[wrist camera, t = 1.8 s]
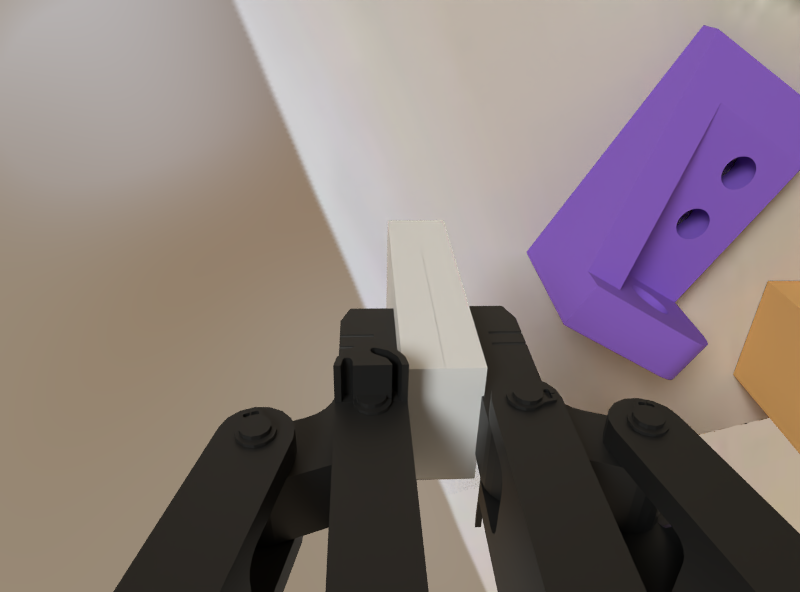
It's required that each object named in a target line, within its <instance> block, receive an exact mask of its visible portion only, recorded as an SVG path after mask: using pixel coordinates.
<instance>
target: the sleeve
mask: <svg viewBox="0 0 800 592" xmlns="http://www.w3.org/2000/svg"><path fill="white" fill-rule="evenodd" d="M733 375H734V376H735V377H736V378H737V379H738V381H739V382H740V383H741V384H742V385H743V387H744V388H745V389H746V390H747V391H748V393H749V394H750V395H751V396H752V397H753V399H754V400H755V401H756V402H757V403H758V405H759V406H760V407H761V408H762V409H763V411H764V412H765V413H766V414H767V415H768V416H769V418H770V419H771V420H772V421H773V422H774V424H775V425H776V426H777V427H778V428H779V430H780V431H781V432H782V433H783V434H784V436H785V437H786V438H787V439H788V440H789V442H790V443H791V444H792V445H793V446H794V448H795V449H796V450H797V451H798V452H799V454H800V281H768V283H767V285H766V288H765V291H764V293H763V296H762V299H761V301H760V304H759V307H758V310H757V312H756V315H755V318H754V320H753V323H752V326H751V328H750V331H749V334H748V336H747V339H746V342H745V344H744V347H743V350H742V353H741V355H740V358H739V361H738V363H737V366H736V369H735V371H734V374H733Z"/></svg>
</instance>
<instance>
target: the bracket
mask: <svg viewBox="0 0 800 592" xmlns="http://www.w3.org/2000/svg"><path fill="white" fill-rule="evenodd" d="M735 158H737V160H736V162H735V164H734V166H733V167H732V168H731V170H730V171H729V172H728V173H726V174H725V175H724V176H722V177H721V175H722V172H723V169H724V168H725V166H726V165H727V164H728V163H729V162H730V161H732V160H733V159H735ZM799 170H800V95H799V94H798V93H797V92H796V91H794V90H793V89H792V88H791V87H789V86H788V85H787V84H786V83H785V82H783V81H782V80H781V79H780V78H778V77H777V76H776V75H775V74H773V73H772V72H771V71H770V70H768V69H767V68H766V67H765V66H763V65H762V64H761V63H760V62H758V61H757V60H756V59H755V58H754V57H752V56H751V55H750V54H749V53H747V52H746V51H745V50H744V49H742V48H741V47H740V46H739V45H737V44H736V43H735V42H734V41H732V40H731V39H730V38H729V37H727V36H726V35H725V34H724V33H723V32H721V31H720V30H719V29H716V28H712V27H708V26H705V25H703V27H702V28H701V29H700V31H699V32H698V33H697V34H696V36H695V37H694V38H693V40H692V41H691V42H690V43H689V45H688V46H687V47H686V48H685V50H684V51H683V52H682V54H681V55H680V56H679V57H678V59H677V60H676V61H675V63H674V64H673V65H672V66H671V68H670V69H669V70H668V72H667V73H666V74H665V75H664V77H663V78H662V79H661V81H660V82H659V83H658V84H657V86H656V87H655V88H654V89H653V91H652V92H651V93H650V95H649V96H648V97H647V98H646V100H645V101H644V102H643V104H642V105H641V106H640V107H639V109H638V110H637V111H636V113H635V114H634V115H633V116H632V118H631V119H630V120H629V122H628V123H627V124H626V125H625V127H624V128H623V129H622V130H621V132H620V133H619V134H618V136H617V137H616V138H615V139H614V141H613V142H612V143H611V145H610V146H609V147H608V148H607V150H606V151H605V152H604V154H603V155H602V156H601V157H600V159H599V160H598V161H597V163H596V164H595V165H594V166H593V168H592V169H591V170H590V172H589V173H588V174H587V175H586V177H585V178H584V179H583V180H582V182H581V183H580V184H579V186H578V187H577V188H576V189H575V191H574V192H573V193H572V195H571V196H570V197H569V198H568V200H567V201H566V202H565V204H564V205H563V206H562V207H561V209H560V210H559V211H558V213H557V214H556V215H555V216H554V218H553V219H552V220H551V221H550V223H549V224H548V225H547V227H546V228H545V229H544V230H543V232H542V233H541V234H540V236H539V237H538V238H537V239H536V241H535V242H534V243H533V245H532V246H531V247H530V248H529V250H528V251H527V254H528V256H529V258H530V260H531V262H532V264H533V266H534V268H535V270H536V271H537V273H538V275H539V277H540V279H541V281H542V283H543V285H544V287H545V289H546V291H547V293H548V295H549V297H550V298H551V300H552V302H553V304H554V306H555V308H556V310H557V312H558V314H559V316H560V318H561V320H562V322H563V324H564V325H565V326H567V327H569V328H571V329H573V330H575V331H577V332H578V333H580V334H582V335H584V336H586V337H588V338H590V339H591V340H593V341H595V342H597V343H599V344H601V345H603V346H604V347H606V348H608V349H610V350H612V351H614V352H616V353H617V354H619V355H621V356H623V357H625V358H627V359H629V360H630V361H632V362H634V363H636V364H638V365H640V366H642V367H643V368H645V369H647V370H649V371H651V372H653V373H654V374H656V375H658V376H660V377H662V378H665V379H669V380H672V379H673V378H674V377H675V376H676V375H677V374H678V373H679V372H680V371H681V370H682V369H683V368H685V367H686V366H687V365H688V364H689V363H690V362H691V361H692V360H693V359H694V358H695V357H696V356H697V355H698V354H699V353H700V352H701V351H702V350H703V349H704V348H705V347H706V346H707V345H708V343H707V341H706V339H705V338H704V336H703V335H702V334H701V333H700V331H699V330H698V329H697V328H696V327H695V326H694V324H693V323H692V322H691V321H690V320H689V319H688V317H687V316H686V315H685V314H684V313H683V311H682V310H681V309H680V308H679V307H678V306H677V304H676V303H675V302H676V301H677V299H678V298H679V297H680V296H681V295H682V294H683V293H684V292H685V291H686V290H687V289H688V288H689V287H690V286H691V285H692V284H693V283H694V281H695V280H696V279H697V278H698V277H699V276H700V275H701V274H702V273H703V272H704V271H705V270H706V269H707V268H708V267H709V266H710V265H711V263H712V262H713V261H714V260H715V259H716V258H717V257H718V256H719V255H720V254H721V253H722V252H723V251H724V250H725V249H726V248H727V247H728V245H729V244H730V243H731V242H732V241H733V240H734V239H735V238H736V237H737V236H738V235H739V234H740V233H741V232H742V231H743V230H744V229H745V227H746V226H747V225H748V224H749V223H750V222H751V221H752V220H753V219H754V218H755V217H756V216H757V215H758V214H759V213H760V212H761V211H762V209H763V208H764V207H765V206H766V205H767V204H768V203H769V202H770V201H771V200H772V199H773V198H774V197H775V196H776V195H777V194H778V193H779V191H780V190H781V189H782V188H783V187H784V186H785V185H786V184H787V183H788V182H789V181H790V180H791V179H792V178H793V177H794V176H795V175H796V173H797V172H798V171H799ZM692 209H693V211H692V213H691V214H690V215H689V217H688V218H687V219H686V220H684V221H683V222H682V223H680V224H678V225H677V222H678V220H679V218H680V217H681V216H682V215H683V214H684V213H686V212H687V211H689V210H692Z"/></svg>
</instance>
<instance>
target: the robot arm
mask: <svg viewBox="0 0 800 592" xmlns="http://www.w3.org/2000/svg"><path fill="white" fill-rule="evenodd" d="M525 343H526V342H525V340H524V337H523V335H522V334H521V330H520V327H519V325H518V323H517V320H516V318H515V317H514V316H513V315H512V314H511V313H509V312H508V311H507V310H506V309H505V308H504V307H502V306H469V304H468V301H467V298H466V294H465V291H464V288H463V284H462V281H461V278H460V274H459V271H458V268H457V264H456V261H455V257H454V254H453V251H452V247H451V244H450V241H449V237H448V234H447V231H446V227H445V224H444V221H388V240H387V304H386V309H350V310H349V311H348V312H347V314H346V315H345V316H344V318H343V319H342V320H341V326H340V349H339V356H338V357H337V358H336V361H335V363H334V366H333V367H334V394H335V395H334V396H335V398H334V400H333V402H332V403H331V404H330V405H329V406H328V407H327V408H326V409H324V410H322V411H321V412H319V413H317V414H315V415H312V416H309V417H307V418H303V419H299V420H295V421H292V420H291V418H290V417H289V416H288V415H286V414H285V413H284V412H283V411H280V410H277V409H273V408H270V407H254V408H250V409H246V410H242V411H239V412H238V413H236V414H234V415H232V416H230V417H228V418H227V419H226V420H225V421H224V422H223V423H222V424H221V425H220V426H219V428H218V429H217V431H216V432H215V434H214V436H213V437H212V439H211V440H210V442H209V443H208V445H207V447H206V448H205V449H204V451H203V453H202V454H201V456H200V458H199V459H198V461H197V462H196V464H195V465H194V467H193V468H192V470H191V471H190V473H189V475H188V476H187V478H186V479H185V481H184V482H183V484H182V485H181V487H180V489H179V490H178V492H177V493H176V495H175V496H174V498H173V499H172V501H171V503H170V504H169V506H168V507H167V509H166V511H165V512H164V514H163V515H162V517H161V518H160V520H159V521H158V523H157V524H156V526H155V528H154V529H153V531H152V532H151V534H150V535H149V537H148V539H147V540H146V542H145V543H144V545H143V546H142V548H141V549H140V551H139V553H138V554H137V556H136V557H135V559H134V560H133V562H132V564H131V565H130V567H129V568H128V570H127V571H126V573H125V575H124V576H123V578H122V579H121V581H120V582H119V584H118V585H117V587H116V589H115V590H114V592H283V591H284V588H285V585H286V583H287V580H288V578H289V575H290V572H291V570H292V567H293V564H294V562H295V559H296V557H297V554H298V551H299V548H300V546H301V543H302V538H303V536H304V535H307V534H310V533H313V532H316V531H319V530H322V529H325V528H328V527H329V533H328V553H327V554H328V555H327V575H326V592H428V582H427V573H426V564H425V555H424V546H423V537H422V528H421V518H420V510H419V500H418V491H417V482H416V480H432V479H470V478H474V477H475V468H476V460H477V464H478V469H479V473H480V486H479V494H478V502H477V510H476V519H475V527H481V522H482V519H483V523H484V528H485V533H486V538H487V543H488V547H489V552H490V557H491V562H492V566H493V571H494V576H495V581H496V586H497V590H498V592H800V534H799V533H798V532H797V531H796V530H795V529H794V528H793V527H792V526H791V525H790V524H789V523H788V522H787V521H786V520H785V519H784V518H783V517H782V516H781V515H780V514H779V513H778V512H777V511H776V510H775V509H774V508H773V507H772V506H771V505H770V504H769V503H768V502H767V501H765V500H764V499H763V498H762V497H761V496H760V495H759V494H758V493H757V492H756V491H755V490H754V489H753V488H752V487H751V486H750V485H749V484H748V483H747V482H746V481H745V480H744V479H743V478H742V477H741V476H740V475H739V474H738V473H737V472H736V471H735V470H734V469H733V468H732V467H731V466H730V465H729V464H728V463H727V462H725V461H724V460H723V459H722V458H721V457H720V456H719V455H718V454H717V453H716V452H715V451H714V450H713V449H712V448H711V447H710V446H709V445H708V444H707V443H706V442H705V441H704V440H703V439H702V438H701V437H700V436H699V435H698V434H697V433H696V432H695V431H694V430H693V429H692V428H691V427H690V426H689V425H688V424H687V423H685V422H684V421H683V420H682V419H681V418H680V417H679V416H678V415H677V414H676V413H674V412H673V411H671V410H670V409H669V408H667V407H665V406H663V405H661V404H658V403H656V402H654V401H650V400H644V399H639V398H633V399H623V400H621V401H618V402H616V403H614V404H613V405H612V407H611V408H610V409H609V411H608V415H602V414H597V413H592V412H587V411H583V410H579V409H576V408H572V407H570V406H568V405H565V404H564V401H563V399H562V397H561V396H560V395H559V393H558V392H557V391H556V389H554V388H553V387H551V386H550V385H548V384H547V383H545V382H542V381H541V378H540V376H539V374H538V371H537V369H536V366H535V364H534V361H533V359H532V357H531V354H530V352H529V349H528V347H527V345H526V344H525Z"/></svg>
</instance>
